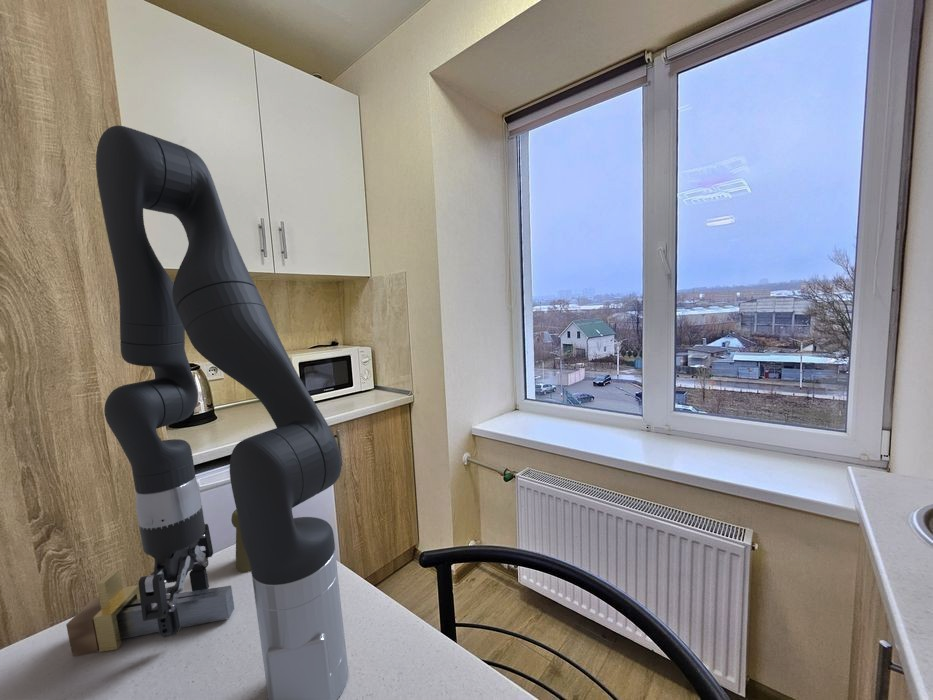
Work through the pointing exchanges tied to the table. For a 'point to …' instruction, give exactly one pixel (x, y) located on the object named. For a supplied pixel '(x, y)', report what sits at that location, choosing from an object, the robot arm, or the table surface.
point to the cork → (240, 547)
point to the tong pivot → (84, 630)
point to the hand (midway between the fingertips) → (187, 611)
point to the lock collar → (111, 609)
